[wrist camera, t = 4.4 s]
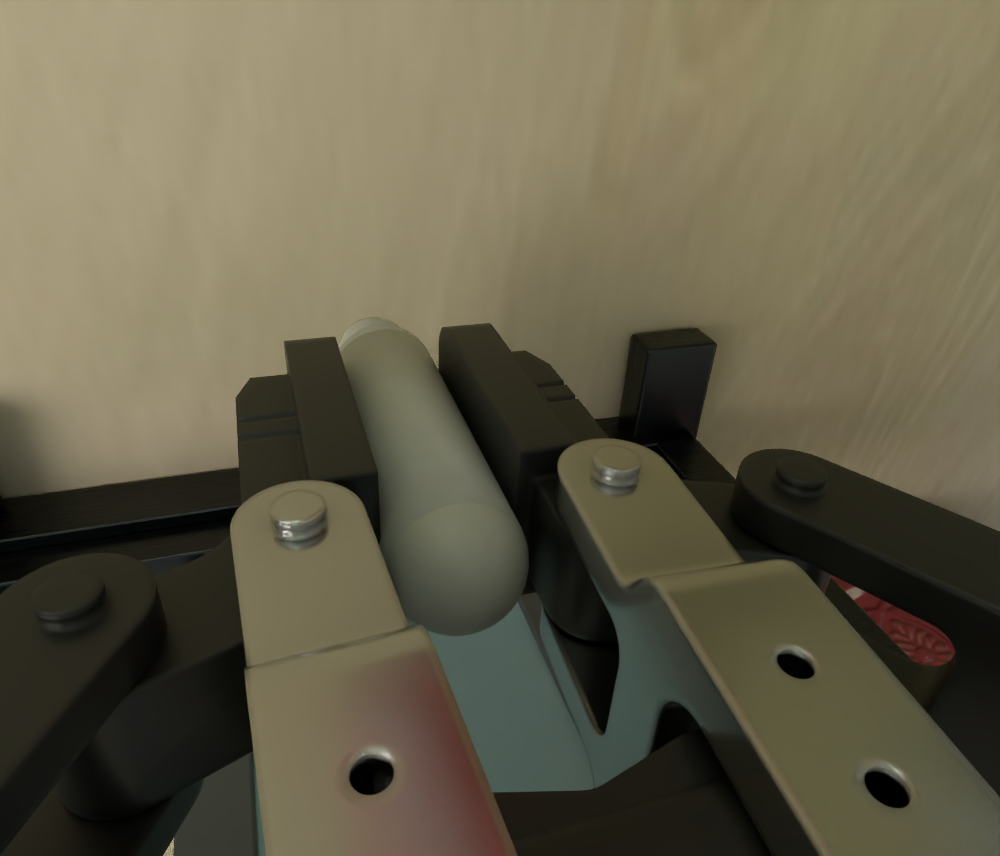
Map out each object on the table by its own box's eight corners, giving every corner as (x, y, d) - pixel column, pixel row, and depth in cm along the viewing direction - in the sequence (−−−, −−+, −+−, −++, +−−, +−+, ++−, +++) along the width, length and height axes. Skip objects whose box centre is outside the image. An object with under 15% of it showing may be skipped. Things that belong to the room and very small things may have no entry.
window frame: (698, 326, 20) (1397, 875, 8) (651, 554, 24) (1062, 1127, 12) (-157, 411, 14) (-1780, 2444, 3) (-21, 685, 18) (-415, 1927, 7)
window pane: (548, 245, 15) (1009, 656, 6) (524, 527, 19) (788, 1020, 10) (115, 270, 13) (-98, 968, 4) (190, 585, 17) (165, 1283, 8)
